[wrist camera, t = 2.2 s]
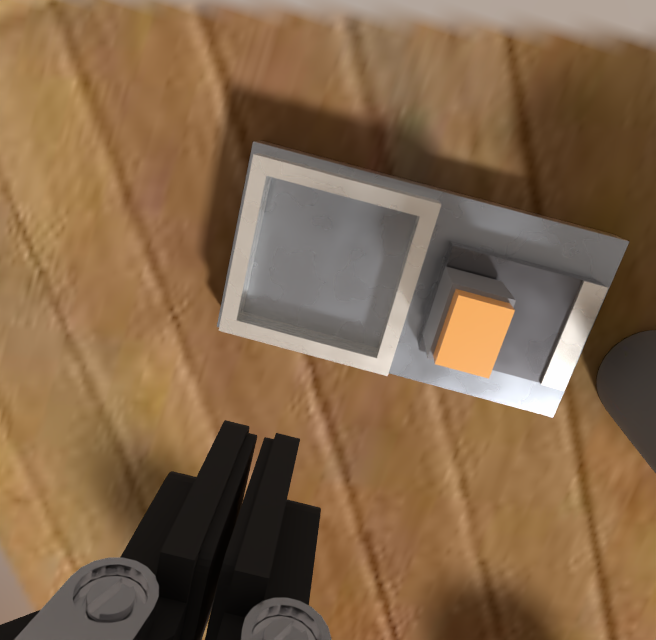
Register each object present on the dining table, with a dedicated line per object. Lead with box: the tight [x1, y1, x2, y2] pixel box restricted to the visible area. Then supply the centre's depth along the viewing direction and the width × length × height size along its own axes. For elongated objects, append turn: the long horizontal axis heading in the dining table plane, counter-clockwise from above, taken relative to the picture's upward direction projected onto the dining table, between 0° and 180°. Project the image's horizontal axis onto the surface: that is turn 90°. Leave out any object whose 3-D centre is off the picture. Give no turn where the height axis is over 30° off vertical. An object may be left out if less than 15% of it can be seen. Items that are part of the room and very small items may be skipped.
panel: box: [217, 141, 629, 417], centre depth 30 cm, size 19×10×4 cm, turn 76°
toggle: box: [423, 266, 516, 379], centre depth 26 cm, size 3×4×4 cm
